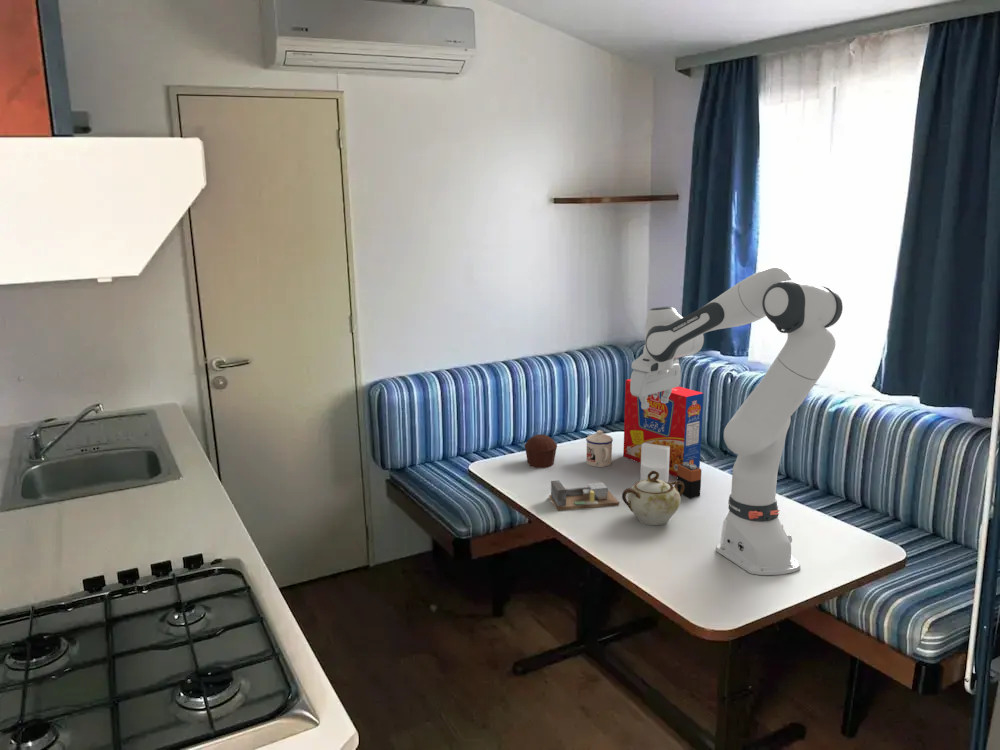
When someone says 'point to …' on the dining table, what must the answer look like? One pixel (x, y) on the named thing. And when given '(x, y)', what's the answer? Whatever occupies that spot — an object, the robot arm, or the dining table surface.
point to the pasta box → (665, 425)
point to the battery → (689, 479)
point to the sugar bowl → (653, 499)
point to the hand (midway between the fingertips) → (654, 405)
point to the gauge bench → (576, 498)
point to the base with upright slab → (654, 461)
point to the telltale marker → (592, 496)
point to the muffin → (540, 451)
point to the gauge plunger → (596, 490)
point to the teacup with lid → (599, 449)
